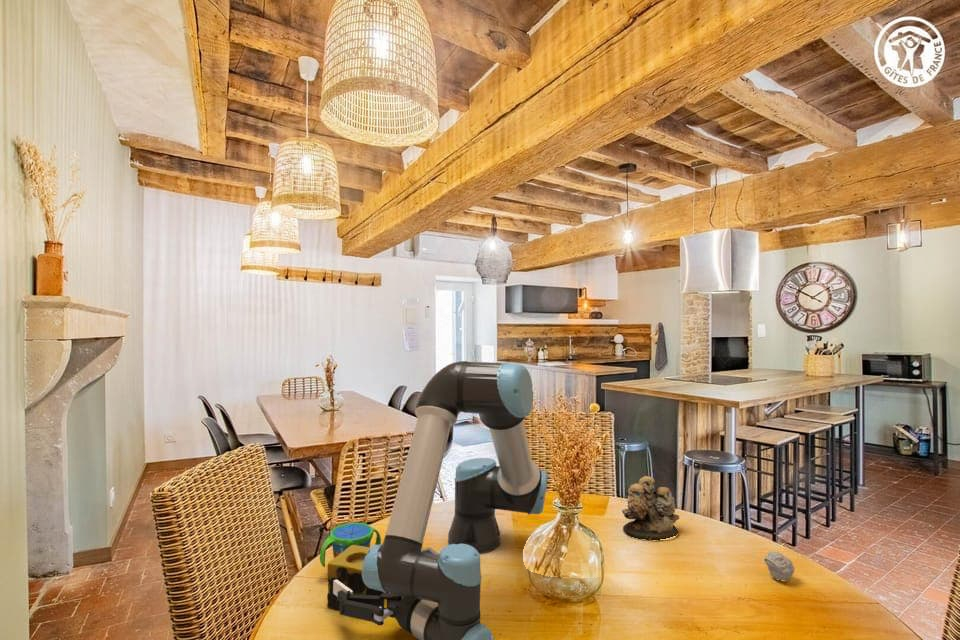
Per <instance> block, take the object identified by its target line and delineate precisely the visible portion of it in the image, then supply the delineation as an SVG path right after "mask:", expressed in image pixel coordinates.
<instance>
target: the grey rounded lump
mask: <svg viewBox="0 0 960 640" xmlns="http://www.w3.org/2000/svg"><path fill="white" fill-rule="evenodd" d="M763 560H764V563H765V564H766V565H767V570H768V572H769V573H770V575H771V577H772V576H773V577H774V578H773V577H772V578H773V579H775V578H776V579H779V580H788V581H790V580H791V578H792V576H793V575H794V573H795V566H794V563H793V562H792V560H791V559H789V557H787V556H785V555H784V554H782V553H781V552H779V551H771V550H770V551H768V554H767V555H766V556H765V557H764V559H763ZM776 579H775V580H776Z"/></svg>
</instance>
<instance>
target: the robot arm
mask: <svg viewBox="0 0 960 640" xmlns="http://www.w3.org/2000/svg"><path fill="white" fill-rule="evenodd" d="M533 387H534V386H533V381H532V377H531V374H530V372H529V370H528V368H526V366H525V365H522V364H519V363H511V362H509V361H508V362H507V361H506V362H485V361H484V362H483V361H480V362H479V361H466V360H461V361H455V362H453V363H450V364H447V365H446V366H444V367H442V368H441V369H440V370H439V371H437V372H436V373H435V374H434V376H432V377H431V379H430V380H429V381H428V382H427V384H426V385H425V387H424V388H423V390H422V392H421V393H420V396H419V397H418V401H417V403H416V407H415V410H414V414H415V416H416V419H417V420H416V423H415V427H414V431H413V434H412V438H411V442H410V443H409V444H410V445H409V449H408V453H407V456H406V459H405V462H404V466H403V469H402V470H403V471H402V475H401V477H400V481H399V485H398V489H397V492H396V496H395V499H394V502H393V506H392V510H391V514H390V517H389V522H388V524H387V528H386V532H385V535H384V539H383V542H382V543H381V544H380V545H375V544H374V545H372V546H370V549H369V551H368V554H367V555H366V556H365V559H364V562H363V566H362V579H363V582H364V584H365V585H366V586H367V587H368V588H371V589H375V590H379V591H382V592H384V593H382V594H381V595H380V596H376V595H355V594H353V591H352V590H351V589H349V588H348V587H347V586H345V585H344V584H342V583H341V582H340V581H338V580H337V579H336V580H334V581H333V594H335V595H336V596H337V599H338V601H340V610H339V615H340V616H344V617H349V618H353V619H358V620H362V621H367V622H371V623H373V624H375V625H377V626H383V625H384V624H385V623H384V622H385V621H384V620H386V619H387V618H394V619H395V620H396V622H397V624H398V625H399V626H400V628H402V629H403V630H405V631H406V632H407V633H409V634H410V635H412V636H414V637H415V638H416V639H417V640H495V639H494V636H493V634H492V632H491V630H490V628H488V627H487V626H486V625H485V624H482V623H481V613H482V612H481V588H482V586H481V584H482V571H481V569H482V568H481V556H480V554H484V553H489V552H492V551H494V550H496V549H498V548H499V546H501V536H502V535H501V532H500V528H499V525H498V522H497V518H496V510H500V511H507V512H516V513H524V514H527V515H540V514H541V513H543V511H544V508H545V507H544V506H545V501H546V492H547V485H548V472H547V471H545V470H543V469H540V468H539V467H538V465H537V464H536V462H534V461H533V460H532V456H531V451H530V445H529V440H528V437H527V436H528V435H527V429H526V425H525V419H526V417H527V416H529V415H530V413H531V412H532V410H533V405H534V391H533ZM461 413H465V414H477V415H478V416H479V419H480V422H481V423H482V424H483V425H484V426H485V427H486V428H488V429H489V433H490V435H491V436H490V437H491V440H492V442H493V448H494V451H495V454H496V458H497V462H498V465H497V462H496V460H495V459H494V458H491V457H490V458H489V457H478V458H471V459H467V460H464V461H462V462H459V464H458V465H457V466H456V468H455V476H454V515H453V519H452V521H451V525H450V527H449V531H448V533H447V535H448V536H447V537H448V539H447V543H448V545H446V546H444V547H442V549H441V550H440V552H439V553H438V554H439V555H435V554H430V553H424V552H421V550H422V549H423V543H424V540H425V539H424V538H425V535H426V531H427V526H428V522H429V518H430V514H431V510H432V507H433V506H432V505H433V502H434V497H435V493H436V489H437V484H438V481H439V477H440V473H441V469H442V468H441V467H442V465H443V461H444V460H443V459H444V456H445V452H446V448H447V444H448V440H449V436H450V430H451V427H452V426H454V425H455V424H456V423H457V422H458V417H459V414H461ZM386 593H388V594H386ZM385 600H386V607H385Z"/></svg>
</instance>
